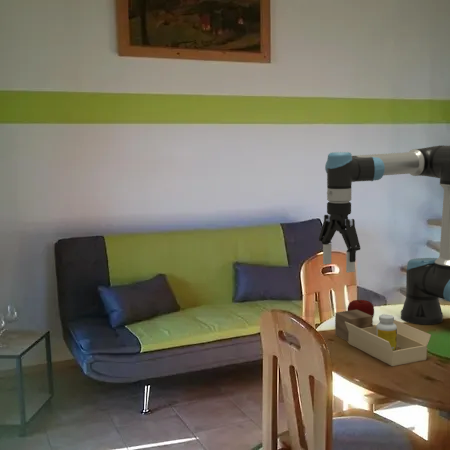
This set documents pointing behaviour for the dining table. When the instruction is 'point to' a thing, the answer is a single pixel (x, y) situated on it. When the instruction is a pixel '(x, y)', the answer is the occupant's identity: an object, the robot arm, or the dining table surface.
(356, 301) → the apple
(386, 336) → the pill bottle
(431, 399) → the dining table surface
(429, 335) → the carton
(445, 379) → the dining table surface
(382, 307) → the dining table surface
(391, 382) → the dining table surface
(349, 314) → the block
